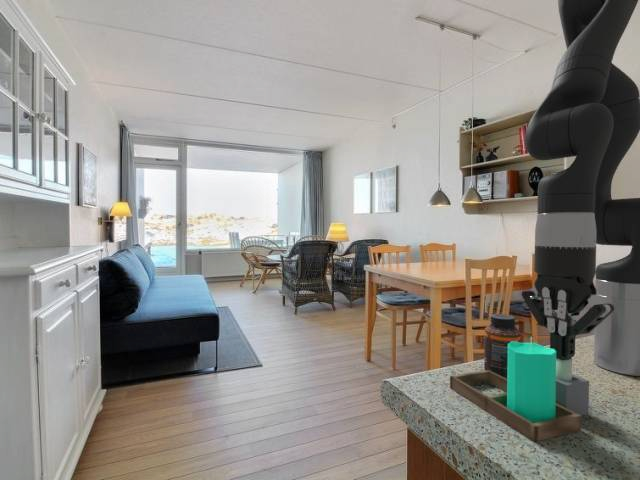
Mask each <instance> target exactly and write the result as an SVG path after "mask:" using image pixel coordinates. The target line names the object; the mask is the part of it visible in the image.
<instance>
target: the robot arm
mask: <svg viewBox="0 0 640 480" xmlns="http://www.w3.org/2000/svg"><path fill="white" fill-rule="evenodd" d="M638 3H639V0H557V6H558V14H559V18H560V23H561V24H560V25H561V29H562V33H563V37H564V41H565V46H566V51H564V53H563V55H562V57H561V58H560V60H559V62H558V65H557V68H556V70H555V74H554V77H553V82H552V85H551V89H550V91H549V92H548V93H547V94H546V96H545V98H544V99H543V101H542V102H541V103H540V105H539V106H538V108H537V109H536V110H535V112H534V113H533V115H532V117H531V118H530V120H529V122H528V124H527V127H526V131H525V134H524V146H525V149H526V151H527V152H528V155H529V156H530V157H531V158H533V159H535V160H537V161H551V160H557V159H564V158H565V159H566V158H570V157H571V158H572V157H575V158H574V160H573V161H572V163H571V164H570V165H569V166H568V167H567V168H565V169H563V170H560V171H558V172H555V173H552V174H549V175H547V176H546V175H545V176H543V177H542V178H541V179H540V180H539V182H538V186H537V210H536V211H537V216H536V222H535V229H534V269H533V270H534V272H535V274H536V275H537V277H536V279H535V281H534V282H533V283H534V286H533V287H532V288H530V289H528V290H523V291H522V292H521V296H522V298H523V300H524V302H525V304H526V306H527V308H528V309H529V310H530V312H531V314H532V316H533V317H534V320H536V322H537V325H539V326H544V327H545V328H546V329H547V330H548V332H549V335H550V336H549V348H551V349H555V351H556V358H558V359H560V360H569V359H573V358H574V356H575V354H576V337H577V336H579V335H588V334H590V333H591V332H592V331H593V330H594V336H593V337H594V338H593V339H594V340H593V341H594V342H593V344H594V345H593V362H594V363H595V364H596V365H597V366H598V367H600V368H603V369H606V370H608V371H611V372H614V373H617V374H622V375H626V376H627V375H628V376H636V377H640V197H630V198H618V199H617V198H616V199H613V198H612V186H613V185H612V184H613V179H614V176H615V174H616V171H617V169H618V167H619V165H620V164H621V162H622V160H623V159H624V157H625V156H626V155H627V153H629V150H630V148H631V147H632V146H633V144H634V142H635V140H636V138H637V137H638V134H639V133H640V90H639V88H638V86H637V84H636V83H635V81H633V79H632V78H631V77H630V76H629V75H628V74H626V73H625V72H624V71H622V70H621V68H619V67H618V66H617V65H615V64H614V63H613V59H614V55H615V53H616V50H617V48H618V45H619V43H620V40H621V38H622V37H623V34H624V33H625V30H626V28H627V27H628V25H629V22H630V20H631V17H632V16H633V13H634V11H635V9H636V7H637V5H638ZM597 245H601V246H619V247H621V246H622V247H624V246H625V247H627V246H628V247H631V249H630V252H629V254H628V255H626V256H625V257H622V258H619V259H616V260H613V261H609V262H604V263H600V264H598V265H597ZM594 278H595V284H594ZM583 310H585V311H586V312H585V313H584V315H583Z"/></svg>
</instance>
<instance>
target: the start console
mask: <svg viewBox="0 0 640 480" xmlns="http://www.w3.org/2000/svg"><path fill="white" fill-rule="evenodd" d="M556 403H557V404H559V405H561V406H563V407H565V408H567V409H569V410H571V411H573V412H575V413H577V414H579V415H581V417H583V416H587V415H589V414H590V413H589V411H590V409H589V407H590V406H589V405H590V380H588V379H586V378H583V377H580V376H578V375H576V374H573V373H572V381H569V382H563V381H561V380H559V379H556Z"/></svg>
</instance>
